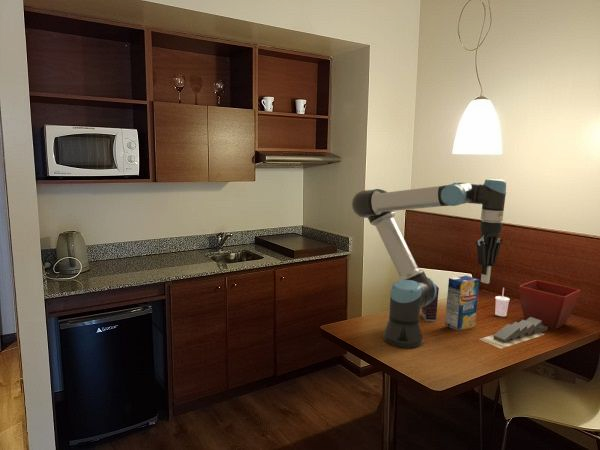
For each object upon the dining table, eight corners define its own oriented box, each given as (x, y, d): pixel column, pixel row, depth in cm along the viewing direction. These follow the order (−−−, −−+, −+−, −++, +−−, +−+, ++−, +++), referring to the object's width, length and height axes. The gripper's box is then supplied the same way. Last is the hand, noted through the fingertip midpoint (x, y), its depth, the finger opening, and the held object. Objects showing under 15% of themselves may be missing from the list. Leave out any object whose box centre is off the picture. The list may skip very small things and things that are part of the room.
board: (500, 351, 169) (500, 348, 168) (478, 341, 177) (478, 338, 177) (544, 336, 184) (545, 334, 184) (522, 328, 192) (522, 326, 192)
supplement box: (436, 321, 197) (439, 287, 195) (425, 321, 197) (428, 287, 195) (431, 315, 206) (433, 282, 203) (420, 314, 206) (423, 281, 203)
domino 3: (519, 335, 178) (534, 323, 183) (508, 330, 183) (522, 319, 187) (520, 338, 179) (534, 326, 183) (508, 333, 183) (523, 322, 188)
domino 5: (534, 330, 184) (547, 326, 189) (523, 326, 188) (536, 322, 193) (534, 333, 184) (547, 330, 189) (522, 329, 188) (536, 326, 193)
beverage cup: (491, 316, 207) (494, 287, 205) (496, 313, 211) (499, 285, 209) (504, 319, 203) (508, 290, 200) (509, 316, 207) (512, 288, 205)
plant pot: (576, 325, 199) (581, 289, 196) (559, 335, 187) (564, 296, 184) (532, 313, 213) (536, 279, 211) (514, 321, 201) (518, 285, 198)
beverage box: (444, 327, 191) (448, 278, 188) (462, 323, 196) (466, 275, 193) (456, 332, 185) (461, 282, 182) (474, 328, 190) (479, 279, 187)
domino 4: (527, 332, 181) (541, 320, 186) (516, 328, 185) (530, 316, 190) (528, 335, 182) (542, 323, 186) (516, 331, 186) (530, 319, 190)
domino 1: (504, 339, 173) (519, 327, 178) (493, 335, 177) (508, 323, 182) (504, 343, 174) (520, 331, 178) (493, 338, 178) (508, 326, 182)
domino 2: (512, 337, 176) (527, 325, 180) (500, 332, 180) (515, 321, 184) (512, 340, 176) (527, 328, 181) (501, 336, 181) (516, 324, 185)
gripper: (489, 223, 157) (482, 287, 161) (511, 221, 163) (504, 283, 167) (471, 220, 163) (465, 281, 167) (493, 219, 170) (487, 278, 174)
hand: (485, 282), depth 167 cm, fingers closed
